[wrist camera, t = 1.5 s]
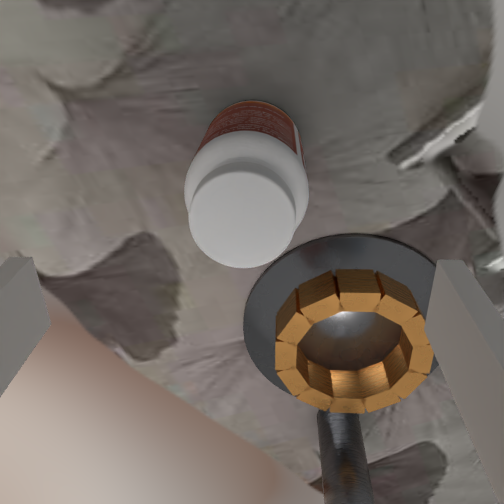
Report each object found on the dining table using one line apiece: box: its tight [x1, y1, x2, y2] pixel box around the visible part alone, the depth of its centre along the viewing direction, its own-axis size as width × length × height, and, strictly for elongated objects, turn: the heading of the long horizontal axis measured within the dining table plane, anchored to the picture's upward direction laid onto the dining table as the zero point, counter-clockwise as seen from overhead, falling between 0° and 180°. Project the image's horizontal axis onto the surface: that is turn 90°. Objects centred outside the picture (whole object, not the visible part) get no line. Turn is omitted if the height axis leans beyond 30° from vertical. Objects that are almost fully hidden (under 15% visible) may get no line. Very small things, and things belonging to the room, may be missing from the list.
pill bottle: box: [184, 101, 309, 268], centre depth 25 cm, size 6×6×11 cm
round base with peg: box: [243, 234, 439, 504], centre depth 31 cm, size 20×16×14 cm
